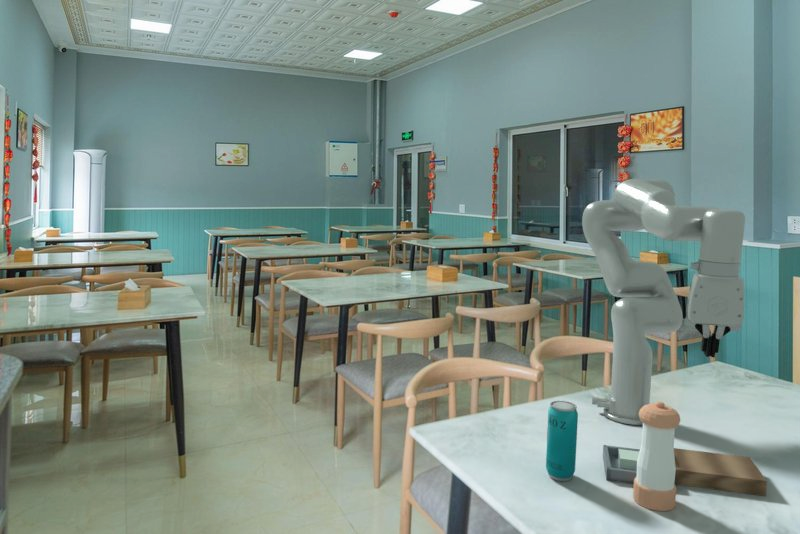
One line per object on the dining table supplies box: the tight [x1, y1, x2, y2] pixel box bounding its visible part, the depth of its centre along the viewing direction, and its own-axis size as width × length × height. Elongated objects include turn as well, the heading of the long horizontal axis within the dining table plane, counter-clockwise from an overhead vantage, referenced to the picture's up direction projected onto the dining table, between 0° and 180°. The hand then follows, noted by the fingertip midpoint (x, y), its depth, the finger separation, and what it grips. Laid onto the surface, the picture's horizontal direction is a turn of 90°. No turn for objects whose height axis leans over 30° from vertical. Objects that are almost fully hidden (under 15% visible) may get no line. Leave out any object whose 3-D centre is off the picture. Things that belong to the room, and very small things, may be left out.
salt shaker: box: [632, 401, 681, 512], centre depth 107 cm, size 7×7×19 cm
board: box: [674, 447, 768, 497], centre depth 118 cm, size 16×11×3 cm
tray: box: [602, 444, 676, 485], centre depth 120 cm, size 13×12×2 cm
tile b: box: [618, 449, 639, 470], centre depth 122 cm, size 5×5×2 cm
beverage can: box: [545, 400, 579, 482], centre depth 117 cm, size 6×6×15 cm
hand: (709, 355), depth 122 cm, fingers closed
